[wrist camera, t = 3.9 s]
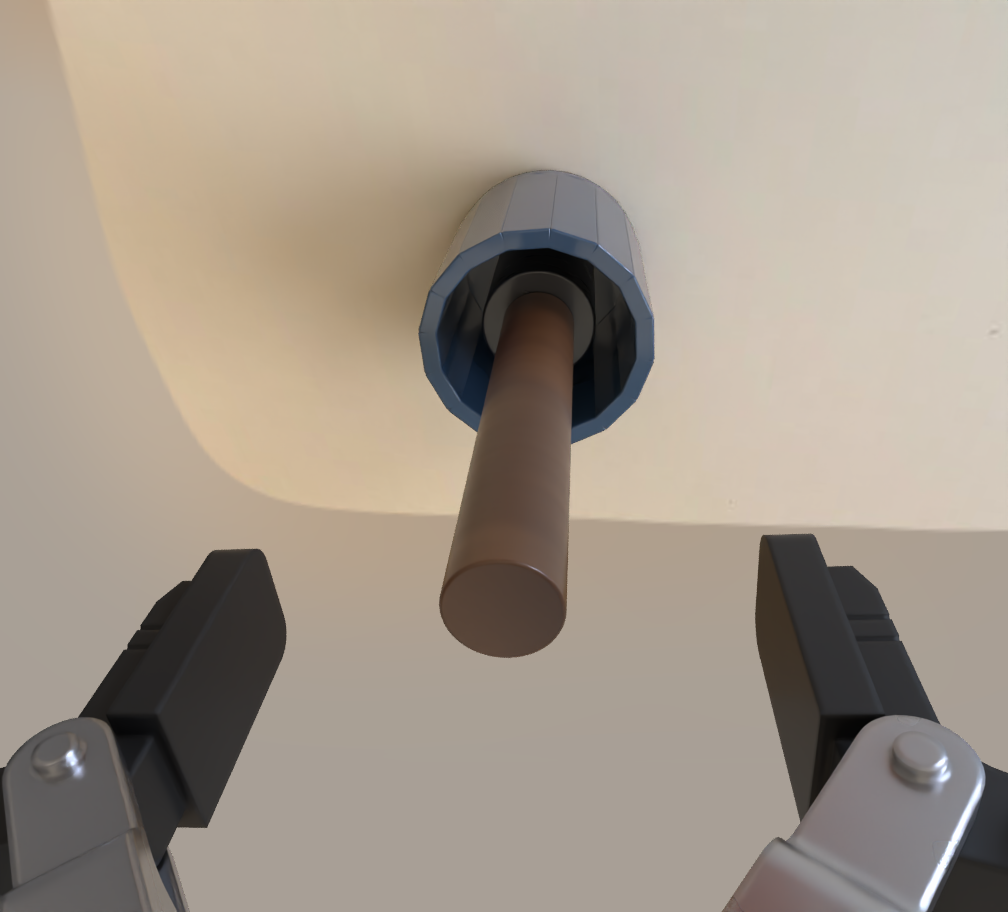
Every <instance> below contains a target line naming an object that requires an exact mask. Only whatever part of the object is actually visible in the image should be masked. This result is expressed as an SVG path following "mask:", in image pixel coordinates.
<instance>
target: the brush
mask: <svg viewBox="0 0 1008 912" xmlns="http://www.w3.org/2000/svg"><path fill="white" fill-rule="evenodd" d="M482 329H483V334H484V338H485V341H486V343H487V345H488V347H489V349H490V350H491V352H492V353H493V355H494V356H495V358H494V362H493V367H492V371H491V376H490V380H489V384H488V389H487V393H486V397H485V402H484V406H483V411H482V415H481V419H480V424H479V428H478V432H477V437H476V441H475V446H474V450H473V454H472V459H471V463H470V467H469V472H468V476H467V481H466V485H465V489H464V494H463V498H462V502H461V507H460V511H459V516H458V520H457V524H456V529H455V533H454V537H453V542H452V546H451V551H450V555H449V560H448V564H447V568H446V572H445V577H444V581H443V586H442V590H441V594H440V601H439V607H440V613H441V617H442V619H443V622H444V624H445V626H446V627H447V629H448V631H449V632H450V633H451V634H452V635H453V636H454V637H455V638H456V639H457V640H458V641H459V642H460V643H462V644H463V645H465V646H466V647H468V648H470V649H472V650H474V651H476V652H479V653H482V654H485V655H489V656H494V657H504V658H505V657H506V658H511V657H520V656H525V655H529V654H532V653H534V652H537V651H539V650H541V649H543V648H544V647H546V646H547V645H549V644H550V643H551V642H552V641H553V640H554V639H555V638H556V637H557V635H558V634H559V633H560V631H561V629H562V627H563V625H564V622H565V619H566V606H567V569H568V568H567V567H568V532H569V497H570V460H571V424H572V388H573V366H574V365H575V364H576V363H578V362H579V361H580V360H581V359H582V358H583V356H584V355H585V354H586V353H587V351H588V349H589V348H590V346H591V344H592V341H593V338H594V335H595V329H596V313H595V282H594V266H593V265H592V264H591V263H590V262H588V261H587V260H584V259H581V258H578V257H575V256H572V255H568V254H565V253H562V252H559V251H556V250H553V249H550V248H540V249H527V250H514V251H506V252H504V253H502V254H500V255H499V259H498V262H497V265H496V269H495V272H494V276H493V279H492V282H491V286H490V289H489V293H488V296H487V300H486V303H485V306H484V310H483V316H482Z"/></svg>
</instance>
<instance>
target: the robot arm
mask: <svg viewBox="0 0 1008 912" xmlns="http://www.w3.org/2000/svg"><path fill="white" fill-rule="evenodd" d="M755 623H756V637H757V645H758V651H759V655H760V659H761V663H762V667H763V671H764V675H765V680H766V683H767V688H768V691H769V696H770V700H771V704H772V708H773V712H774V716H775V720H776V724H777V728H778V732H779V736H780V740H781V744H782V749H783V752H784V757H785V761H786V765H787V769H788V773H789V776H790V781H791V785H792V789H793V793H794V797H795V801H796V806H797V810H798V814H799V818H800V824H799V826H798V827H797V829H796V830H795V832H794V833H793V835H792V836H791V837H790V838H789V839H788V840H787V841H785V840H783V839H782V838H779V837H777V838H775V839H774V840H772V841H771V842H770V843H769V844H768V845H767V846H766V847H765V849H764V850H763V851H762V853H761V854H760V855H759V857H758V859H757V860H756V861H755V863H754V864H753V866H752V867H751V869H750V870H749V872H748V873H747V875H746V876H745V878H744V879H743V881H742V882H741V884H740V885H739V887H738V888H737V890H736V891H735V893H734V894H733V896H732V897H731V899H730V900H729V902H728V903H727V905H726V906H725V908H724V909H723V911H722V912H1008V773H1006V772H1003V771H1001V770H998V769H996V768H993V767H991V766H989V765H987V764H985V763H983V762H981V761H980V758H979V757H978V755H977V754H976V752H975V751H974V750H973V749H972V748H971V746H970V745H969V744H968V743H967V742H966V741H965V740H963V739H962V738H961V737H960V736H959V735H957V734H956V733H954V732H953V731H951V730H950V729H948V728H946V727H944V726H942V725H941V724H940V723H939V721H938V719H937V717H936V715H935V712H934V710H933V708H932V706H931V704H930V702H929V700H928V697H927V695H926V693H925V691H924V689H923V686H922V684H921V682H920V680H919V678H918V676H917V673H916V671H915V669H914V667H913V665H912V662H911V660H910V658H909V656H908V654H907V652H906V650H905V647H904V645H903V643H902V641H899V634H898V632H897V630H896V628H895V626H894V624H893V621H892V620H891V619H890V618H889V613H888V610H887V608H886V607H885V604H884V602H883V600H882V597H881V595H880V593H879V591H878V589H877V588H876V587H875V586H874V585H873V584H872V583H871V582H870V581H868V580H867V579H866V578H865V577H864V576H863V575H862V574H860V573H859V572H858V571H857V570H856V569H855V568H854V567H853V566H835V567H827V565H826V563H825V560H824V557H823V555H822V553H821V550H820V547H819V545H818V542H817V540H816V538H815V536H814V535H813V534H788V535H786V534H785V535H763V536H762V537H761V542H760V550H759V565H758V581H757V597H756V612H755ZM285 645H286V623H285V618H284V615H283V611H282V608H281V605H280V602H279V598H278V595H277V592H276V589H275V585H274V582H273V579H272V576H271V573H270V569H269V566H268V563H267V560H266V557H265V555H264V553H263V552H262V551H261V550H260V549H233V550H214V551H212V552H211V553H210V554H209V555H208V556H207V558H206V559H205V561H204V563H203V564H202V565H201V567H200V568H199V570H198V572H197V573H196V575H195V576H194V578H193V579H192V581H182V582H181V583H180V584H178V585H177V586H176V587H174V588H173V589H172V590H171V591H169V592H168V593H167V594H166V595H165V596H163V597H162V598H161V599H160V600H158V601H157V602H156V604H155V605H154V606H153V608H152V609H151V611H150V612H149V614H148V615H147V617H146V618H145V620H144V621H143V623H142V624H141V629H140V630H137V631H136V633H135V634H134V636H133V637H132V639H131V640H130V642H129V643H128V648H127V650H123V652H122V654H121V655H120V656H119V658H118V660H117V661H116V662H115V664H114V665H113V667H112V668H111V670H110V671H109V673H108V674H107V675H106V677H105V678H104V680H103V681H102V683H101V684H100V686H99V687H98V689H97V690H96V692H95V693H94V695H93V697H92V698H91V699H90V701H89V702H88V704H87V705H86V707H85V708H84V709H83V711H82V712H81V714H80V715H79V717H78V718H73V719H69V720H65V721H62V722H59V723H57V724H54V725H52V726H50V727H48V728H46V729H44V730H42V731H41V732H39V733H37V734H36V735H34V736H33V737H32V738H30V739H29V740H28V741H26V742H25V743H24V744H23V745H22V746H21V747H20V748H19V749H18V750H17V751H16V752H15V753H14V755H13V756H12V757H11V759H10V760H9V762H8V763H7V766H6V767H3V768H0V912H190V911H189V908H188V904H187V901H186V898H185V894H184V891H183V888H182V885H181V881H180V878H179V875H178V871H177V868H176V865H175V861H174V859H173V856H172V853H171V851H170V850H169V847H168V845H169V843H170V841H171V839H172V837H173V834H174V832H175V830H176V828H177V827H189V828H207V826H208V824H209V822H210V819H211V817H212V815H213V813H214V811H215V808H216V806H217V804H218V802H219V799H220V797H221V795H222V793H223V790H224V788H225V786H226V783H227V781H228V779H229V777H230V775H231V772H232V770H233V768H234V766H235V763H236V761H237V759H238V757H239V754H240V752H241V749H242V747H243V745H244V743H245V741H246V739H247V736H248V734H249V731H250V729H251V727H252V725H253V722H254V720H255V718H256V716H257V714H258V711H259V709H260V707H261V705H262V702H263V700H264V698H265V696H266V693H267V691H268V689H269V686H270V684H271V682H272V680H273V678H274V675H275V673H276V671H277V669H278V666H279V664H280V662H281V660H282V657H283V654H284V650H285Z"/></svg>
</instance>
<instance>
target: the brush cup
mask: <svg viewBox="0 0 1008 912" xmlns="http://www.w3.org/2000/svg"><path fill="white" fill-rule="evenodd" d="M540 248H550V249H553V250H556V251H559V252H562V253H565V254H568V255H572V256H575V257H578V258H581V259H584V260H587V261H588V262H590V263H591V264H592V265H593V266H594V282H595V313H596V329H595V335H594V338H593V341H592V344H591V346H590V348H589V349H588V351H587V353H586V354H585V355H584V356H583V358H582V359H581V360H580V361H579V362H578V363H576V364H575V365H574V366H573V388H572V424H571V444H573V443H575V442H578V441H580V440H583V439H585V438H587V437H590V436H592V435H595V434H597V433H600V432H602V431H604V430H605V429H607V428H608V427H609V426H610V425H612V424H613V423H614V422H615V421H616V420H617V419H618V418H619V417H620V416H621V415H622V414H623V413H624V412H625V411H626V410H627V409H628V408H629V407H630V406H631V405H632V404H634V403H635V402H636V399H638V397H639V395H640V393H641V390H642V388H643V386H644V383H645V381H646V379H647V377H648V374H649V372H650V370H651V367H652V365H653V363H654V316H653V311H652V306H651V301H650V296H649V291H648V286H647V281H646V276H645V270H644V265H643V260H642V255H641V250H640V246H639V242H638V240H637V238H636V235H635V232H634V230H633V227H632V224H631V222H630V220H629V219H628V217H627V215H626V213H625V212H624V210H623V209H622V208H621V206H620V205H619V204H618V202H617V201H616V200H615V199H614V198H613V197H612V196H611V195H610V194H609V193H608V192H606V191H605V190H604V189H602V188H601V187H600V186H598V185H597V184H595V183H593V182H591V181H590V180H588V179H585V178H583V177H580V176H578V175H575V174H571V173H567V172H562V171H554V170H539V171H532V172H526V173H523V174H519V175H516V176H513V177H511V178H509V179H507V180H504V181H502V182H501V183H499V184H497V185H496V186H494V187H493V188H491V189H490V190H489V191H488V192H487V193H485V194H484V195H483V196H482V197H481V198H480V199H479V200H478V201H477V202H476V204H475V205H474V206H473V207H472V209H471V210H470V212H469V213H468V215H467V216H466V218H465V219H464V220H463V221H462V223H461V225H460V227H459V229H458V231H457V233H456V235H455V237H454V239H453V241H452V244H451V246H450V248H449V250H448V252H447V254H446V256H445V258H444V260H443V262H442V264H441V267H440V269H439V271H438V273H437V275H436V277H435V279H434V281H433V283H432V285H431V287H430V290H429V292H428V296H427V300H426V303H425V307H424V311H423V315H422V318H421V322H420V326H419V333H418V334H419V340H420V347H421V353H422V359H423V365H424V371H425V373H426V376H427V378H428V380H429V381H430V383H431V384H432V386H433V388H434V389H435V391H436V392H437V394H438V396H439V397H440V399H441V400H442V402H443V404H444V405H445V407H446V408H447V409H448V410H449V412H451V413H452V414H454V415H455V416H456V417H458V418H459V419H460V420H462V421H463V422H464V423H466V424H467V425H468V426H470V427H471V428H472V429H474V430H475V431H476V432H478V428H479V424H480V419H481V415H482V411H483V406H484V402H485V397H486V393H487V389H488V384H489V380H490V376H491V371H492V367H493V362H494V358H495V356H494V355H493V353H492V352H491V350H490V349H489V347H488V345H487V343H486V341H485V338H484V334H483V329H482V316H483V310H484V306H485V303H486V300H487V296H488V293H489V289H490V286H491V282H492V279H493V276H494V272H495V269H496V265H497V262H498V259H499V255H500V254H502V253H504V252H506V251H514V250H527V249H540Z"/></svg>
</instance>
